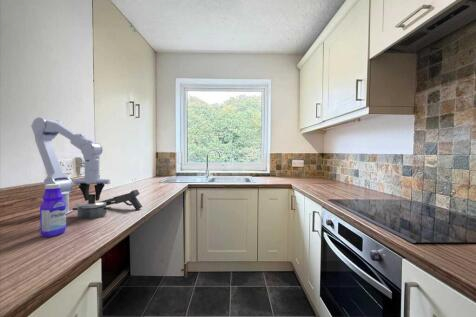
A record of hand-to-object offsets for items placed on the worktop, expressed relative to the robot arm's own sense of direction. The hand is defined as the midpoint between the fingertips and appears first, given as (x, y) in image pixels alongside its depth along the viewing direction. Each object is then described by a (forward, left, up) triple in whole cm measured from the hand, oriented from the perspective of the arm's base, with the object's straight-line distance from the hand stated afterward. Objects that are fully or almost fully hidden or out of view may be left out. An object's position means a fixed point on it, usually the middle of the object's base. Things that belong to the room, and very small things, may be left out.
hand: (92, 200), depth 109 cm
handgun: (+7, +14, -7) cm, 17 cm away
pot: (0, 0, -7) cm, 7 cm away
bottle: (-2, -25, -7) cm, 26 cm away
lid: (0, -1, -3) cm, 3 cm away
